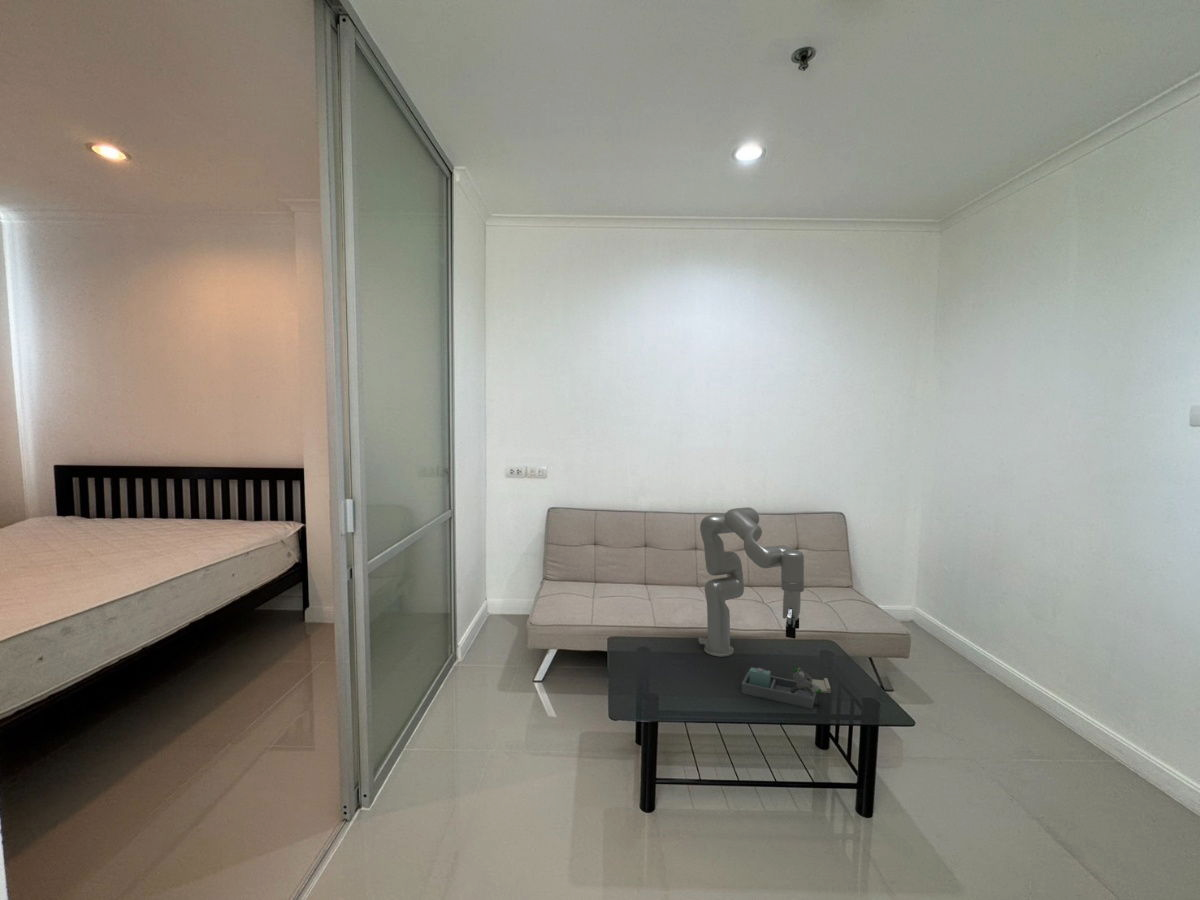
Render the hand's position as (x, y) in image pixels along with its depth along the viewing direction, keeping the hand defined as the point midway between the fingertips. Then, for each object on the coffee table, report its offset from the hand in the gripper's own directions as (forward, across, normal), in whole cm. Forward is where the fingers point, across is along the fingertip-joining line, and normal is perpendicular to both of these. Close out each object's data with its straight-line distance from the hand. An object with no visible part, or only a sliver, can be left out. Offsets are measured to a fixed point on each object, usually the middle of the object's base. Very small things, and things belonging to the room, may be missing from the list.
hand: (792, 632), depth 181 cm
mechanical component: (+22, 0, 0) cm, 22 cm away
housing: (+23, 0, -5) cm, 24 cm away
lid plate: (+23, -11, +6) cm, 27 cm away
